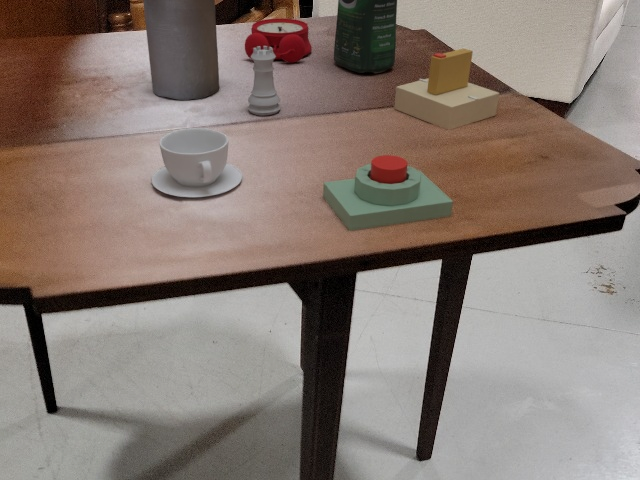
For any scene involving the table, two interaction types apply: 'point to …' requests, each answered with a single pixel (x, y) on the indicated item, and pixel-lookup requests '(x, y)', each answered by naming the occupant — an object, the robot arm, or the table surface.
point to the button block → (385, 200)
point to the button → (388, 169)
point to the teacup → (195, 164)
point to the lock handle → (449, 71)
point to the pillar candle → (182, 47)
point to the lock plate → (446, 104)
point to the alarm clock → (280, 38)
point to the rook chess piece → (263, 84)
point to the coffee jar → (366, 35)
